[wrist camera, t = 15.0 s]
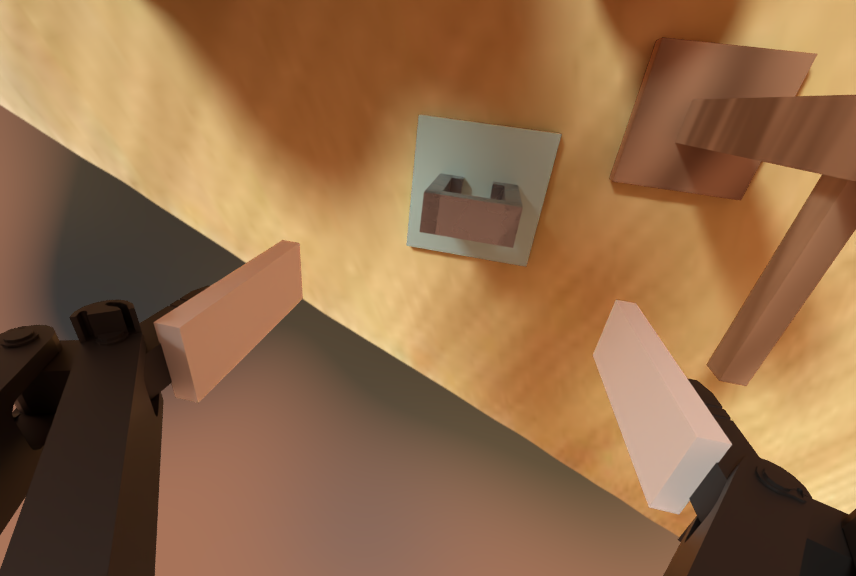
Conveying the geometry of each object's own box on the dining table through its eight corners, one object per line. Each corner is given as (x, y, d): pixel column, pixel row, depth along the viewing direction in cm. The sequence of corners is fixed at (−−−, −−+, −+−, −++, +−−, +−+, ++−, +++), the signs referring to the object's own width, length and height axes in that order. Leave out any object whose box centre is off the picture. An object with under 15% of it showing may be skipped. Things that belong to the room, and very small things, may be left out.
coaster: (408, 243, 37) (406, 245, 36) (420, 114, 32) (418, 114, 31) (525, 263, 36) (526, 266, 35) (560, 133, 30) (561, 134, 30)
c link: (436, 205, 34) (419, 232, 27) (440, 173, 33) (423, 191, 26) (510, 217, 33) (513, 248, 26) (518, 185, 32) (522, 207, 25)
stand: (581, 258, 35) (684, 450, 15) (656, 40, 27) (1072, -134, 7) (691, 277, 34) (949, 508, 14) (804, 56, 26) (1749, -97, 6)
